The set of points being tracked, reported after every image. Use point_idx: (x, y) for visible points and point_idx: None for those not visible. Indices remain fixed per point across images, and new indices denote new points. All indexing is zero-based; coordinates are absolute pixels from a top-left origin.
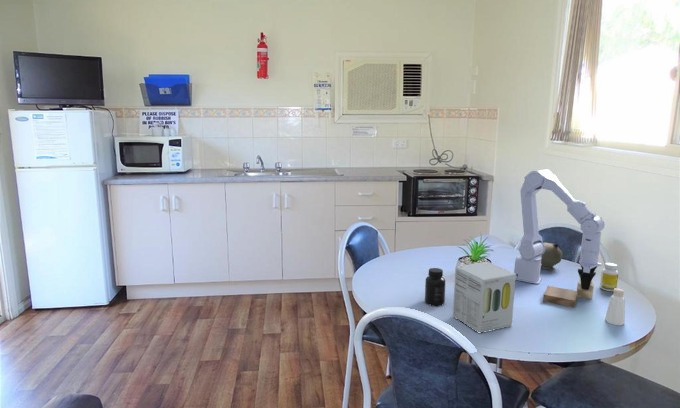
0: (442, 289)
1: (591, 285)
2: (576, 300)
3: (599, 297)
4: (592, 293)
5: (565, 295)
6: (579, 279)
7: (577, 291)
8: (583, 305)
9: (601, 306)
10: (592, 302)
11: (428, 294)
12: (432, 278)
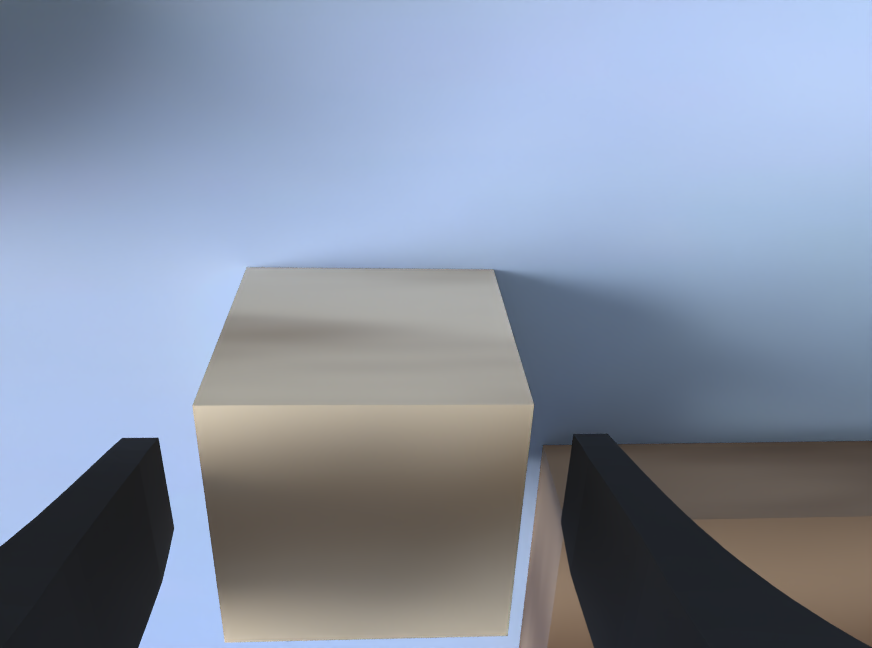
0: None
1: (493, 438)
2: (664, 445)
3: (325, 158)
4: (473, 313)
5: (839, 626)
6: (230, 635)
7: None
8: (826, 353)
9: (777, 111)
10: (643, 250)
11: None
12: None
